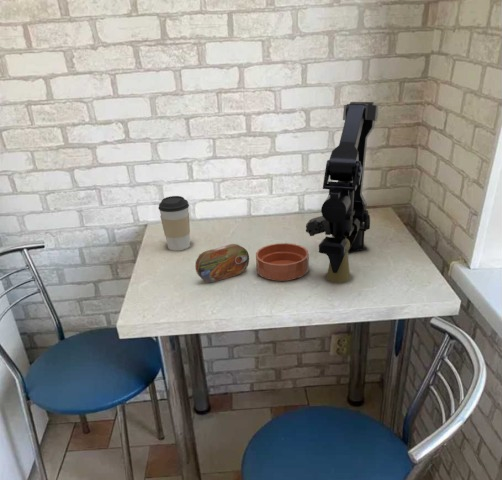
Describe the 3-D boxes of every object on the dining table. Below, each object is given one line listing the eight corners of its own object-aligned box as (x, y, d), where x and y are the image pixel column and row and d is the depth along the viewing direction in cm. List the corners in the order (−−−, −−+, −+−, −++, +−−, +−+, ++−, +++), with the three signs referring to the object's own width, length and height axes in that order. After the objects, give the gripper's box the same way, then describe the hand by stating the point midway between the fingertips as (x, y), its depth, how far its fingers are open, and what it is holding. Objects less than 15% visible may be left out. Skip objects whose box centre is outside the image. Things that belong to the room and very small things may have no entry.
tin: (200, 285, 140) (196, 256, 136) (195, 281, 143) (192, 252, 138) (250, 272, 146) (249, 243, 141) (245, 267, 148) (243, 239, 144)
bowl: (296, 256, 153) (296, 239, 150) (316, 276, 142) (317, 259, 139) (249, 264, 150) (249, 248, 147) (266, 286, 138) (266, 269, 136)
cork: (349, 283, 137) (351, 244, 131) (325, 282, 138) (327, 243, 132) (350, 272, 142) (352, 234, 136) (327, 271, 143) (328, 233, 137)
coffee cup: (158, 250, 162) (151, 202, 154) (173, 238, 169) (166, 192, 160) (185, 253, 159) (178, 204, 150) (198, 241, 166) (193, 194, 157)
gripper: (319, 193, 140) (318, 248, 148) (298, 218, 126) (298, 277, 134) (361, 197, 136) (358, 253, 145) (344, 222, 122) (341, 283, 130)
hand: (338, 266), depth 139 cm, fingers closed on cork, 8 cm apart
